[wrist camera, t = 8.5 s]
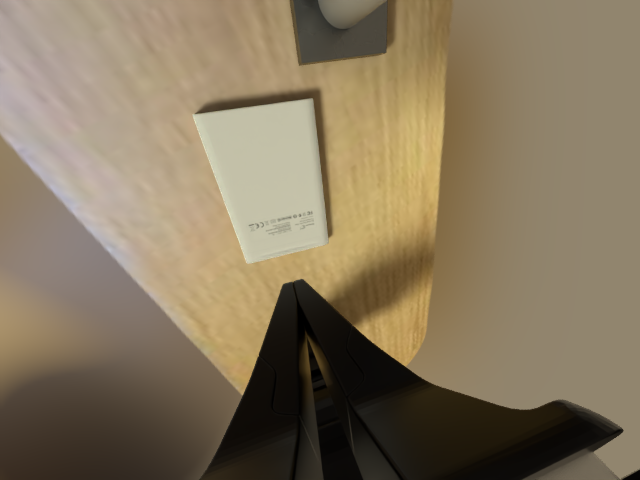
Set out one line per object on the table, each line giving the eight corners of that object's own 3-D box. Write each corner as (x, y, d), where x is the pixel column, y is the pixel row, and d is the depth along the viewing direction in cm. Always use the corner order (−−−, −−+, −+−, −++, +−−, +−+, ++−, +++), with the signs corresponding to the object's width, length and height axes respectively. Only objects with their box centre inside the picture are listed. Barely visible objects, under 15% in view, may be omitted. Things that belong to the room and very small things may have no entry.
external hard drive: (309, 98, 17) (325, 236, 24) (195, 113, 16) (246, 256, 22) (314, 97, 16) (330, 244, 22) (190, 114, 14) (246, 265, 21)
